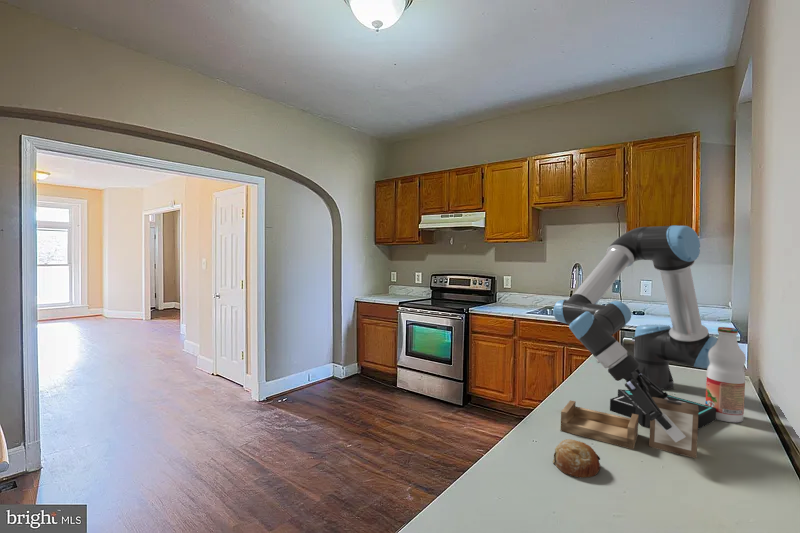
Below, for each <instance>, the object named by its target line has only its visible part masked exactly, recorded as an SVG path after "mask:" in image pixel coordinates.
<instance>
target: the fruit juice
mask: <svg viewBox="0 0 800 533" xmlns="http://www.w3.org/2000/svg"><path fill="white" fill-rule="evenodd" d="M717 333H718V337H717V339H718V340H717V342H716V344H715V345H714V346H713V347H712V348H711V349H710V350H709V352H708V358H709V361H710V364H709V366H708V368H706V379H705V380H706V383H705V384H706V385H705V404H704V405H707V406H711V407H714V408H716V420H717V421H722V422H726V423H734V424H735V423H741V422H743V420H744V416H745V414H744V411H745V394H746V373H745V370H744V366H745V364H746V354H745V352H743V350H742V348H740V346H739V343H738V341H737V336H738V334H739V330H738V329H737V328H736V327H735V328H734V327H726V326H718V328H717Z"/></svg>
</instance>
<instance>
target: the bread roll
mask: <svg viewBox="0 0 800 533" xmlns="http://www.w3.org/2000/svg"><path fill="white" fill-rule="evenodd" d="M600 460H601V458H600V456H599V455H598V454H597V452H596V451H595V450H594V449H593V448H592V446H590V445H589V444H586V443H585V442H583V441H580V440H575V439H572V438H571V439H570V438H569V439H566V438H565V439H563V440H562V441H560V442H559V443H558V445H556V447H555V448H554V453H553V460H552V463H553V465H555V466H556V468H557V469H558V470H560V471H561V472H562V473H564V474H565V475H567V474H568V475H567V476H570V475H571V477H574V476H575V478H580V477H581V478H591V477H595V476H596V475H598V473H599V472H600V469H601V464H600V463H601V462H600Z"/></svg>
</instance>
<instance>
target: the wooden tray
mask: <svg viewBox="0 0 800 533" xmlns="http://www.w3.org/2000/svg"><path fill="white" fill-rule="evenodd" d="M560 432H563V433H564V432H565V433H568V434H572V435H576V436H580V437H584V438H588V439H591V440H595V441H600V442H603V443H606V444H611V445H613V446H614V445H615V446H617V447H618V446H619V447H623V448H626V449H630V450H634V449H635V445H636V442H637V438H638V434H639V423H638V415H637V414H632V416H631V418H630V417H627V416H621V415H616V414H612V413H606V412H603V411H600V410H599V411H598V410H595V409H594V410H593V409H590V408H589V409H588V408H586V407H585V408H584V407H582V406H581V407H580V406H576V401H574V400H569V401H568V402H567V404H566V405H565V406H564V407H563V409H561V411H560Z"/></svg>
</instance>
